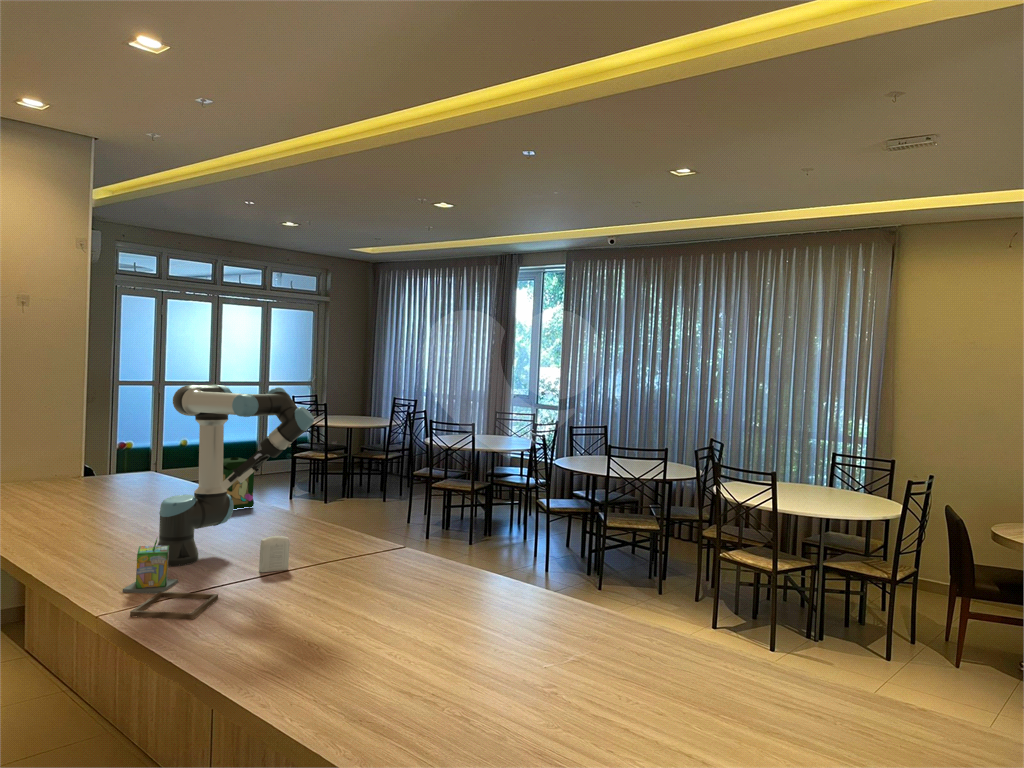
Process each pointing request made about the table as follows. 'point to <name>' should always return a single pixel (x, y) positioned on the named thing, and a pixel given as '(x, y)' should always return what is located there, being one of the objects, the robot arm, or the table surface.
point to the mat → (150, 588)
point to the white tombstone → (274, 554)
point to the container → (238, 484)
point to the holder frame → (174, 615)
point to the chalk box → (152, 566)
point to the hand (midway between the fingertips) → (231, 483)
